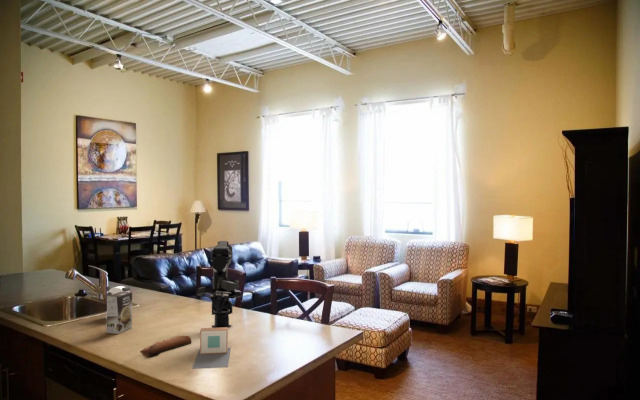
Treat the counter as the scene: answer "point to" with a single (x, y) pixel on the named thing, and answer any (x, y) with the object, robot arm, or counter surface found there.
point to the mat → (211, 360)
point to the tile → (214, 340)
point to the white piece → (116, 290)
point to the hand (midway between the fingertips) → (219, 313)
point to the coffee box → (119, 312)
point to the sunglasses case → (166, 345)
